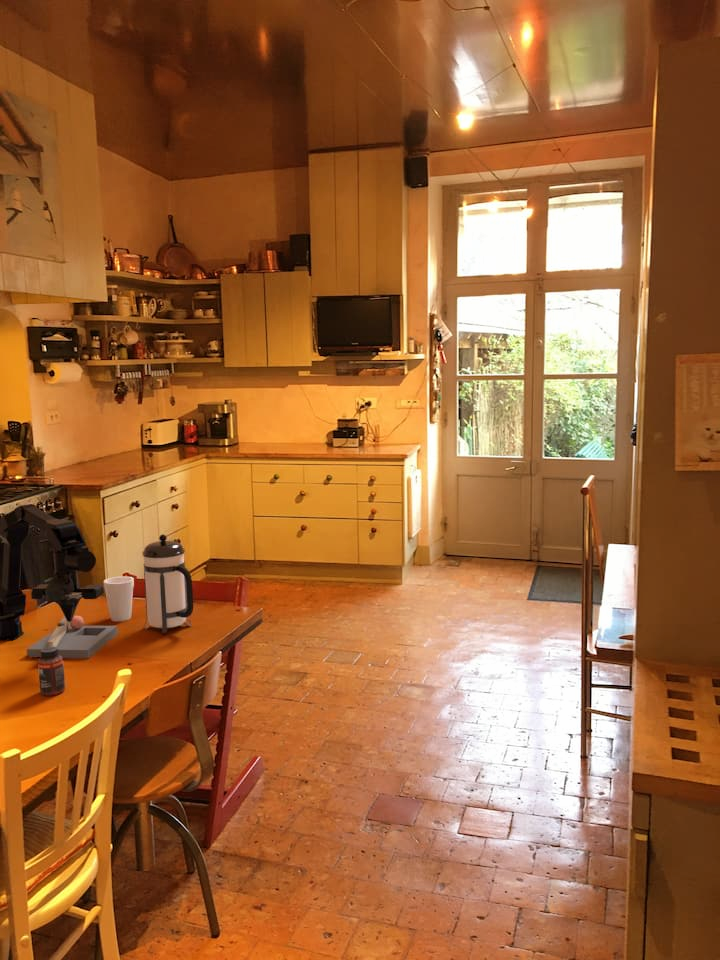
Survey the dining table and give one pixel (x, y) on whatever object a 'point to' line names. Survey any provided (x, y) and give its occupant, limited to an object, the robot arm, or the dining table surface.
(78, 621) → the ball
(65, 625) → the lever
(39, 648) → the board
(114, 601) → the foam cup
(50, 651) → the supplement bottle
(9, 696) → the dining table surface
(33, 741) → the dining table surface
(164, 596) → the coffee press
